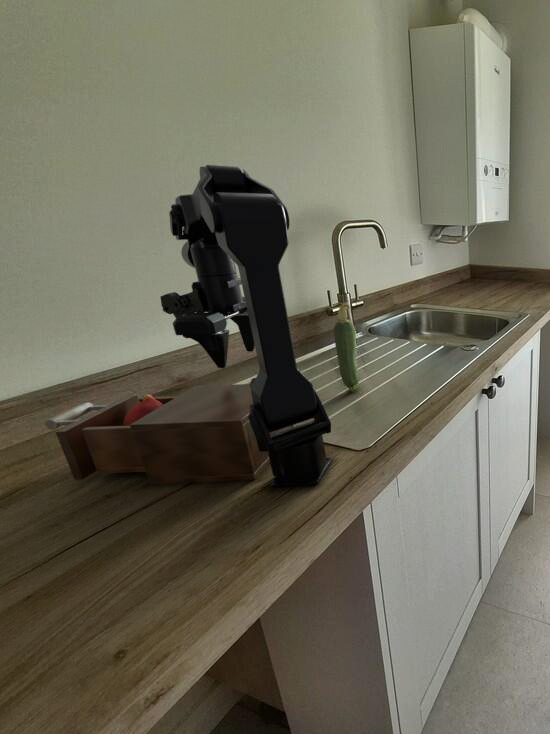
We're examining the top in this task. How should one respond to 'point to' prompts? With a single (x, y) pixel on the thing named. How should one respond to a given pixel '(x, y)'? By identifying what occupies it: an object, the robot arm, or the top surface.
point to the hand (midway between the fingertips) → (237, 359)
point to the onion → (141, 409)
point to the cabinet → (201, 437)
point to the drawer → (100, 438)
